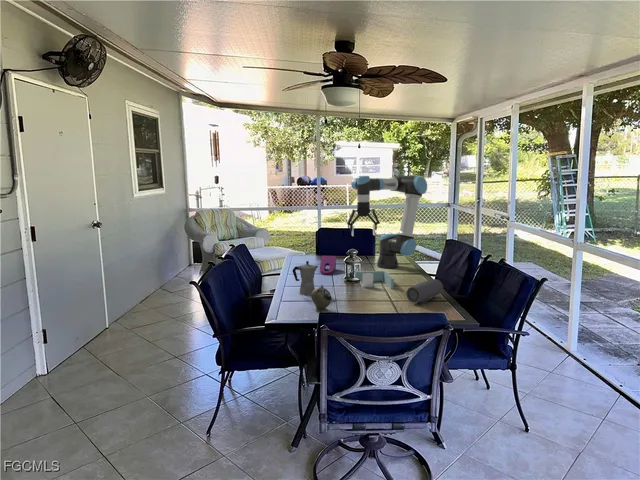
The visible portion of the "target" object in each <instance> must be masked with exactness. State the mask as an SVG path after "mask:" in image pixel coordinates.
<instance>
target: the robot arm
mask: <svg viewBox="0 0 640 480" xmlns="http://www.w3.org/2000/svg"><path fill="white" fill-rule="evenodd" d="M350 185H351V188H352V189H353V190H355V191H357V198H356V199H357V203H356V207H357V209H352V210H351V214H350V216H349V218H348V220H347V222H346V224H347V226H349V231H350V232H351V236H352V237H355V235H354V234H355V232H354V230H355V227H354V226H355V225H354V224H355V223H356V222H357V220H358V219H359V218H360V217H361V218H362V217H368V218H369V219H370V221H371V222H372V223H373V224H372V235H373V236H376V230H377V229H378V228H377V227H378V225H379V224H381V222H380V219H379V218H378V216H377V214H376V210H375V208H370V206H371V205H370V199H371V197H370V194H371V193H370V192H376V191H378V192H379V191H382V190H383V191H384V190H386V191H387V190H388V191H391V192H400V193H403V194H404V196H405V202H404V207H403V213H402V219H401V222H400V228H399V229H400V230H399V232H397V234H396V233H387V234H386V233H385V234H381V235H380V236H379V256H378V259H377V261H376V267H378V268H381V269H396V268H399V262H398V258H397V254H398V255H401V256H411V255H412V254H414V253H415V251H416V249H417V242H416V240H415V235H413V233H414V229H415V228H414V227H415V223H416V222H415V221H416V217H417V211H418V206H419V201H420V199H421V198H422V197H423V194H424V195H425V193H426V192H427V190H428V183H427V180H426V178H424V177H423V176H420V175H401V176H392V177H389V178H386V177H385V178H383V177H381V178H380V177H379V178H378V177H376V178H374V177H373V178H372V177H370V175H358V176H357V177H354V178H353V179H352V180H351V184H350ZM370 213H372V215H373V216H371V215H370ZM355 214H356V216H355ZM354 216H355V217H354ZM374 219H375V220H374Z"/></svg>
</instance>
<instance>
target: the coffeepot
mask: <svg viewBox="0 0 640 480" xmlns="http://www.w3.org/2000/svg"><path fill="white" fill-rule="evenodd" d="M305 263H306V264H301V265H299V266H294V267H293V269H292V273H293V274H292V275H293V276H294V277H293V278H294V279H295V281H296V282H299V281H300V279H301V281H300V288H299V294H300V295H304V296H311V293H312V291H313V290H314V289H316V287H315V284H314V278H315V272H316V271H317V269H318V267H319V266H318V265H315V264H309V261H308V260H306V262H305ZM296 271H299V272H300V278H298V275H297V272H296Z"/></svg>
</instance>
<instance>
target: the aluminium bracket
mask: <svg viewBox="0 0 640 480" xmlns="http://www.w3.org/2000/svg"><path fill="white" fill-rule="evenodd" d="M359 284H360V285H361V287H362V288H374V281H373V273H363V278H362V281H359Z"/></svg>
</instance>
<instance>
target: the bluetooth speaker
mask: <svg viewBox="0 0 640 480" xmlns="http://www.w3.org/2000/svg"><path fill="white" fill-rule="evenodd" d="M443 291H444V285H443V283H442V282H441V281H440V280H439V279H436V278H433V279H429V280H426V281H422V282H419V283H416V284H414V285H411V286H410V287H408V289H407V291H406V293H405V294H406V298H407V300H408V301H409V302H410V303H413V304H414V303H415V304H416V303H420V304H421V303H427V302H428V301H431V300H432V298H434V297H436V296H439V295H440V294H442V292H443Z"/></svg>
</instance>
